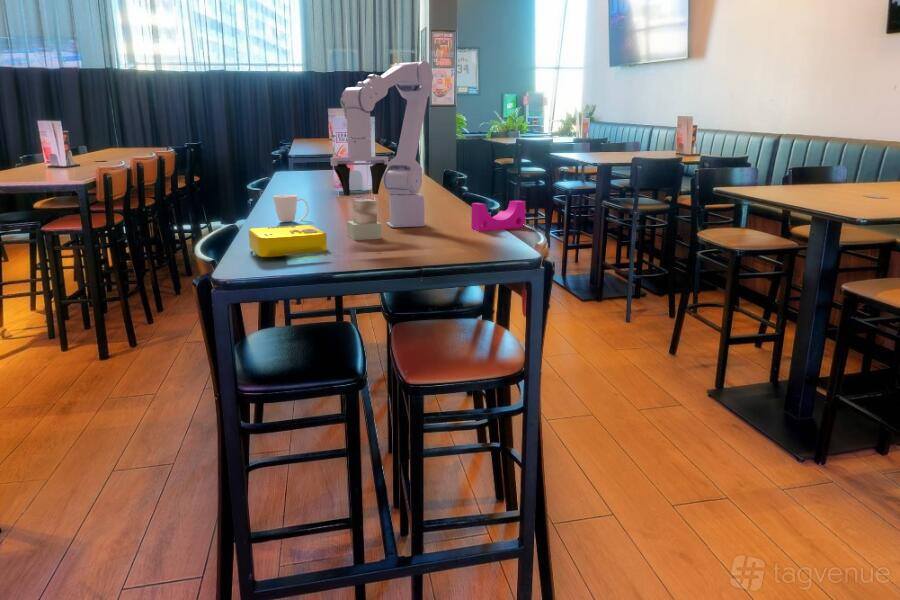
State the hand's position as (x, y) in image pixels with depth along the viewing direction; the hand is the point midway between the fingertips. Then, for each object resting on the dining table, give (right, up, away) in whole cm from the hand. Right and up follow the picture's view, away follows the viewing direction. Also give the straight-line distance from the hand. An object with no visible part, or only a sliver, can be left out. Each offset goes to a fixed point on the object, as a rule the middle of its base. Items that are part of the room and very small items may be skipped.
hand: (361, 194), depth 153 cm
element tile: (-14, -15, -14) cm, 25 cm away
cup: (-23, -5, +23) cm, 33 cm away
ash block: (+1, -7, 0) cm, 7 cm away
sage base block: (+1, -11, +1) cm, 11 cm away
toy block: (+35, -7, +16) cm, 39 cm away
